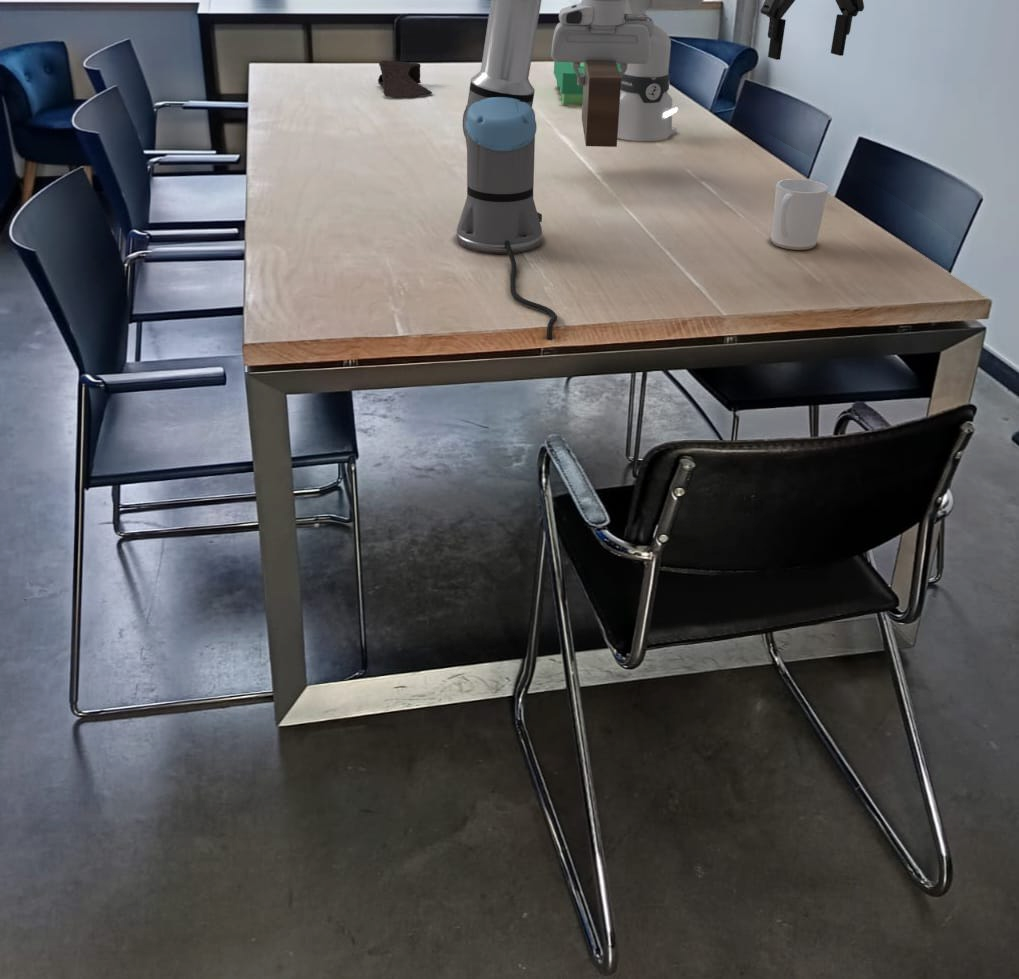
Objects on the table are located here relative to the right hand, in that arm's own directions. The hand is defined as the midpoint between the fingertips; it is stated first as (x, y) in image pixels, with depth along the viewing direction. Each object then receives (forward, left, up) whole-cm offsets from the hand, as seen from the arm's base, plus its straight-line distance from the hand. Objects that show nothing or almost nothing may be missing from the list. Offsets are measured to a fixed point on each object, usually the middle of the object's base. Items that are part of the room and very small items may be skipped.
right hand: (598, 85), depth 227 cm
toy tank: (-73, +26, -18) cm, 79 cm away
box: (+7, -2, -8) cm, 11 cm away
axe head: (-86, -23, -18) cm, 91 cm away
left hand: (+38, +24, +11) cm, 47 cm away
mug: (+54, +18, -18) cm, 59 cm away
